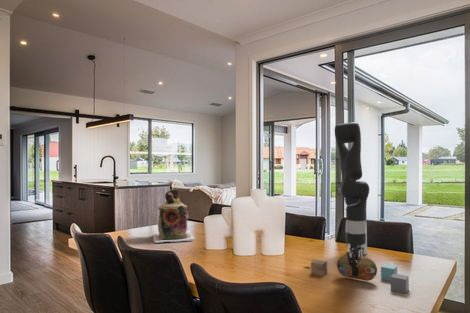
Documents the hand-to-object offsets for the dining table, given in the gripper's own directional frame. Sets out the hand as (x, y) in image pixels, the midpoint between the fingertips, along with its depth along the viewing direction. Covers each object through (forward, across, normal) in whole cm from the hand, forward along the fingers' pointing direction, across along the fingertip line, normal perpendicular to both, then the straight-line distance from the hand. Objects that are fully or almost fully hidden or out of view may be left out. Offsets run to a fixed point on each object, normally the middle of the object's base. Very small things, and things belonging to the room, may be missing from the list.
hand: (356, 274), depth 131 cm
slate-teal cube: (+2, -10, +10) cm, 14 cm away
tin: (+1, 0, 0) cm, 1 cm away
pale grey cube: (+2, +1, +16) cm, 16 cm away
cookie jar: (+3, -8, -116) cm, 116 cm away
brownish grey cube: (+2, +1, -15) cm, 15 cm away
